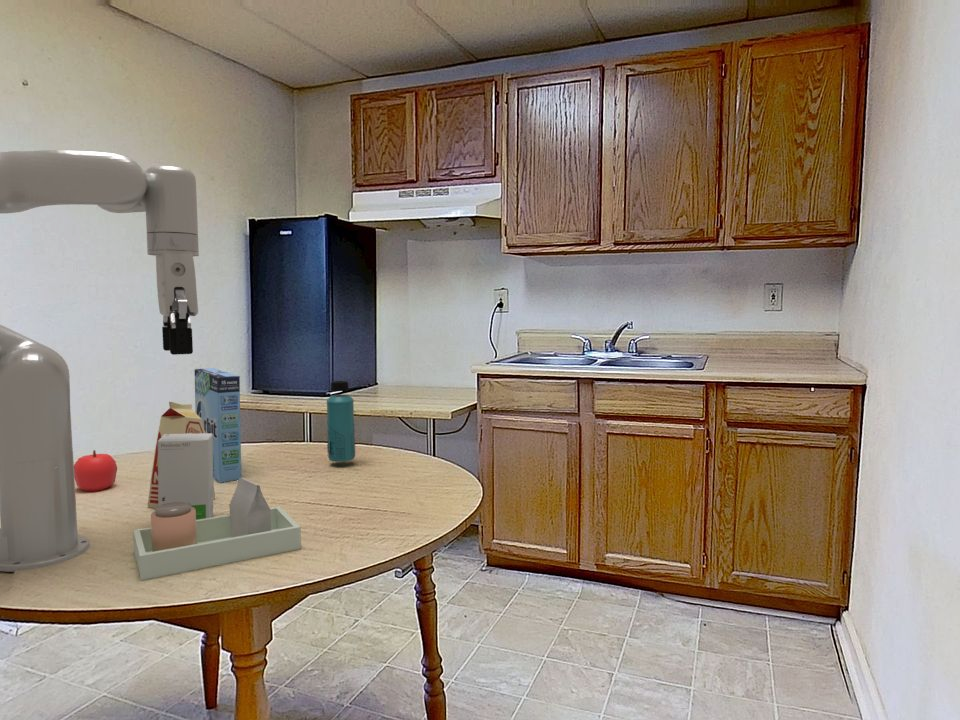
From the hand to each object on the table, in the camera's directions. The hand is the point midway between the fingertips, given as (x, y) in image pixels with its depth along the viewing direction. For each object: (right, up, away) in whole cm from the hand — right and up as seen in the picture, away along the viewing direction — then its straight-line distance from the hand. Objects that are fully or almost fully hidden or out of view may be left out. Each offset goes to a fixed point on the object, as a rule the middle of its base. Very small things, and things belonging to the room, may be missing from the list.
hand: (177, 352), depth 107 cm
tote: (+9, -31, -7) cm, 33 cm away
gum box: (-10, -27, +41) cm, 50 cm away
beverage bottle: (+17, -26, +48) cm, 57 cm away
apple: (-30, -28, +29) cm, 50 cm away
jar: (+4, -31, -10) cm, 33 cm away
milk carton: (-8, -29, +19) cm, 35 cm away
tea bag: (+13, -30, -4) cm, 34 cm away
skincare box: (-1, -30, +7) cm, 31 cm away
